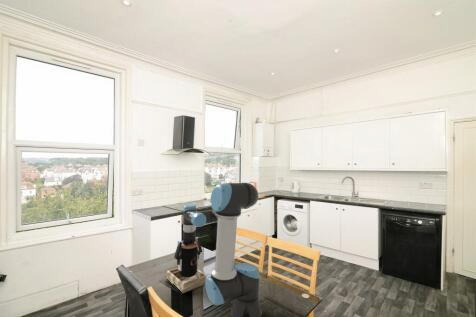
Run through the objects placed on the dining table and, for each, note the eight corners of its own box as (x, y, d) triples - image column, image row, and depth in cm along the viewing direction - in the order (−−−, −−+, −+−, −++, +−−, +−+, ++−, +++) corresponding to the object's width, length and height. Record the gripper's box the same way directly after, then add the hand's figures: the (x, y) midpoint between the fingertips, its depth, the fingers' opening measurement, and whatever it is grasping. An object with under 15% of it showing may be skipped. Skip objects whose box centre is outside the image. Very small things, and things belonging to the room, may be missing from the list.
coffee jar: (192, 279, 136) (193, 248, 136) (175, 276, 138) (176, 246, 138) (199, 270, 146) (200, 241, 146) (183, 268, 148) (184, 240, 148)
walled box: (206, 283, 141) (206, 275, 141) (182, 293, 131) (182, 284, 131) (189, 271, 156) (189, 263, 156) (166, 279, 146) (167, 271, 146)
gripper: (202, 226, 153) (201, 259, 153) (168, 232, 137) (167, 270, 137) (208, 228, 147) (207, 264, 147) (174, 236, 132) (173, 275, 132)
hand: (188, 267), depth 142 cm, fingers closed on coffee jar, 11 cm apart
